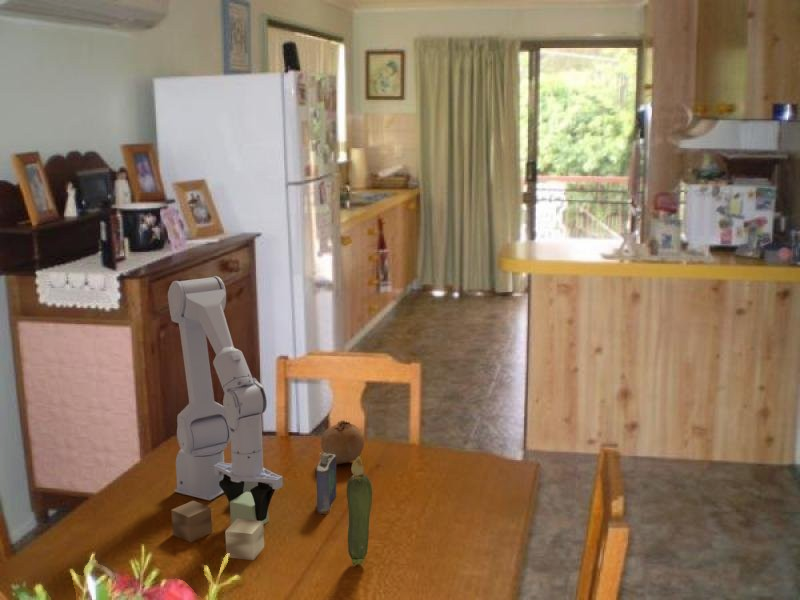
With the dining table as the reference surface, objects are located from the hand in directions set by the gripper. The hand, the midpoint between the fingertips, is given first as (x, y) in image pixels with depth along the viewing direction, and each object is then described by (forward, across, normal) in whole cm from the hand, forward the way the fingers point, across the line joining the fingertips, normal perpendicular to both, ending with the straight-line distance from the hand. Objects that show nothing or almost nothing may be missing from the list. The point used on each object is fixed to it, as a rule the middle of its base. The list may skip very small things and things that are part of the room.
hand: (249, 516), depth 167 cm
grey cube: (+2, -7, +9) cm, 12 cm away
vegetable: (+2, +26, -3) cm, 26 cm away
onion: (+2, 0, +33) cm, 33 cm away
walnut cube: (+2, -7, -8) cm, 11 cm away
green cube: (+1, 0, 0) cm, 1 cm away
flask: (+2, +8, +14) cm, 16 cm away
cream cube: (+2, +6, -9) cm, 11 cm away
